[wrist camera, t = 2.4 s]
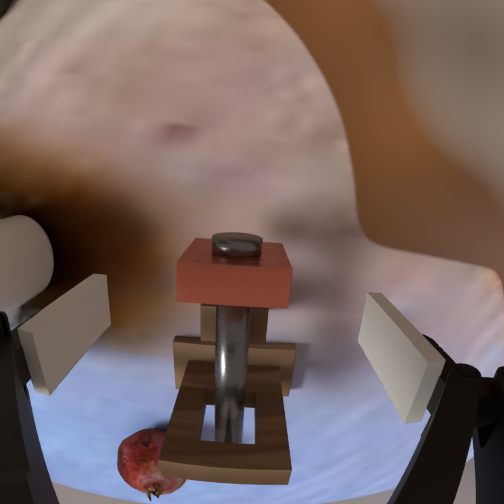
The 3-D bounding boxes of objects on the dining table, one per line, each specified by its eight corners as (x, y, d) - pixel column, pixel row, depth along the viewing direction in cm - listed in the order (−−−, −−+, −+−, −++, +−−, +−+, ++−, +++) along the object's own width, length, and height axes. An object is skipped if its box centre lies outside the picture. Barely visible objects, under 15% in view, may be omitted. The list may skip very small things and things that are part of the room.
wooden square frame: (175, 336, 31) (132, 438, 17) (294, 343, 31) (319, 451, 17) (177, 382, 33) (146, 485, 19) (287, 389, 33) (303, 496, 19)
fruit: (121, 445, 36) (99, 497, 26) (135, 406, 34) (109, 464, 24) (181, 469, 37) (170, 524, 27) (204, 434, 35) (195, 497, 25)
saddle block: (210, 277, 30) (200, 305, 23) (265, 281, 30) (268, 309, 24) (210, 307, 30) (200, 340, 24) (262, 310, 31) (265, 344, 24)
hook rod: (196, 226, 24) (176, 246, 17) (282, 231, 24) (294, 254, 17) (197, 421, 28) (188, 471, 22) (262, 426, 28) (264, 476, 22)
